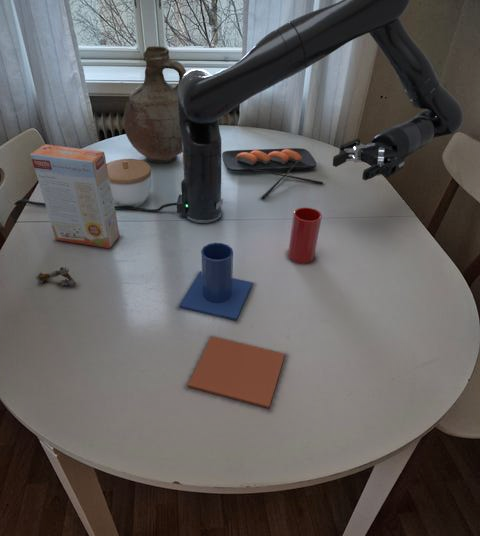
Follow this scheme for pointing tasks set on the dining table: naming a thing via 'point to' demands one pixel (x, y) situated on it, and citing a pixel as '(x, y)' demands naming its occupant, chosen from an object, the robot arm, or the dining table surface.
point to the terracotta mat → (238, 371)
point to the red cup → (304, 235)
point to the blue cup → (217, 272)
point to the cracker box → (77, 194)
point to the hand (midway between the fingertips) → (348, 169)
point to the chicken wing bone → (62, 271)
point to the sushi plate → (270, 161)
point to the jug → (155, 110)
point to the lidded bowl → (129, 181)
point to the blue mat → (224, 309)
